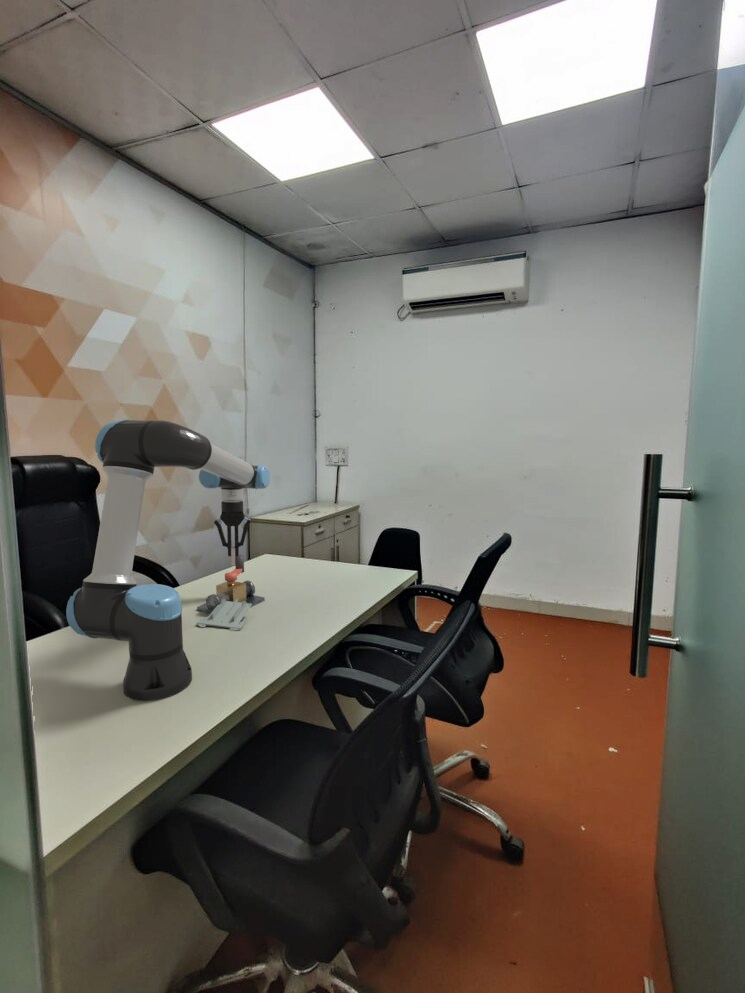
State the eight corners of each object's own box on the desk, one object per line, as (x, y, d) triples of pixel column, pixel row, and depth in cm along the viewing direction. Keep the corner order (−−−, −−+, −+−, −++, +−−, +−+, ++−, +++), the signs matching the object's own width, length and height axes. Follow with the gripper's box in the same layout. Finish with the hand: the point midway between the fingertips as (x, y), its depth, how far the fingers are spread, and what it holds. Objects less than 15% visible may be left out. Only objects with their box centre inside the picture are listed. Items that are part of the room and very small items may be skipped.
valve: (228, 617, 157) (227, 591, 156) (197, 610, 163) (196, 584, 162) (264, 600, 173) (263, 576, 172) (234, 594, 179) (234, 570, 178)
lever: (234, 581, 165) (233, 564, 164) (223, 581, 165) (222, 564, 164) (246, 570, 177) (246, 555, 176) (236, 570, 177) (235, 554, 176)
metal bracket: (216, 593, 161) (258, 598, 158) (219, 608, 163) (260, 612, 160) (193, 621, 148) (238, 626, 145) (196, 636, 151) (240, 642, 148)
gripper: (212, 502, 167) (214, 568, 170) (250, 501, 170) (251, 566, 173) (214, 499, 174) (215, 562, 177) (250, 498, 177) (251, 561, 180)
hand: (233, 564), depth 175 cm, fingers closed
